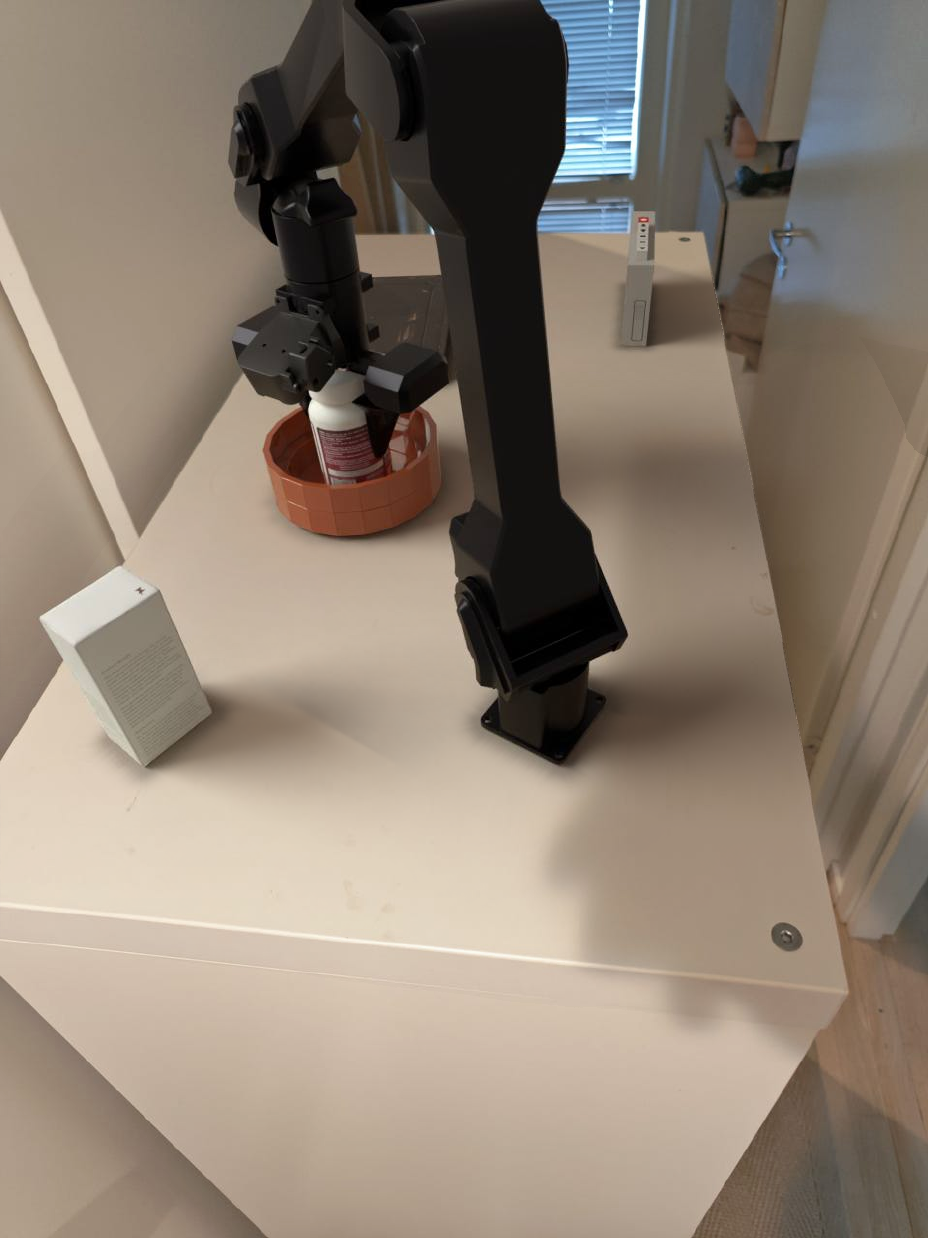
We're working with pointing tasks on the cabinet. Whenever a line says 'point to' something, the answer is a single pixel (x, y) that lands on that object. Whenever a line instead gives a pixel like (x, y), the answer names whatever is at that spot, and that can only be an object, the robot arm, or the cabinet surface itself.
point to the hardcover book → (408, 312)
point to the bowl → (358, 503)
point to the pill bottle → (344, 433)
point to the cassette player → (639, 278)
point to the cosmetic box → (129, 663)
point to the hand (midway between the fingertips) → (352, 445)
